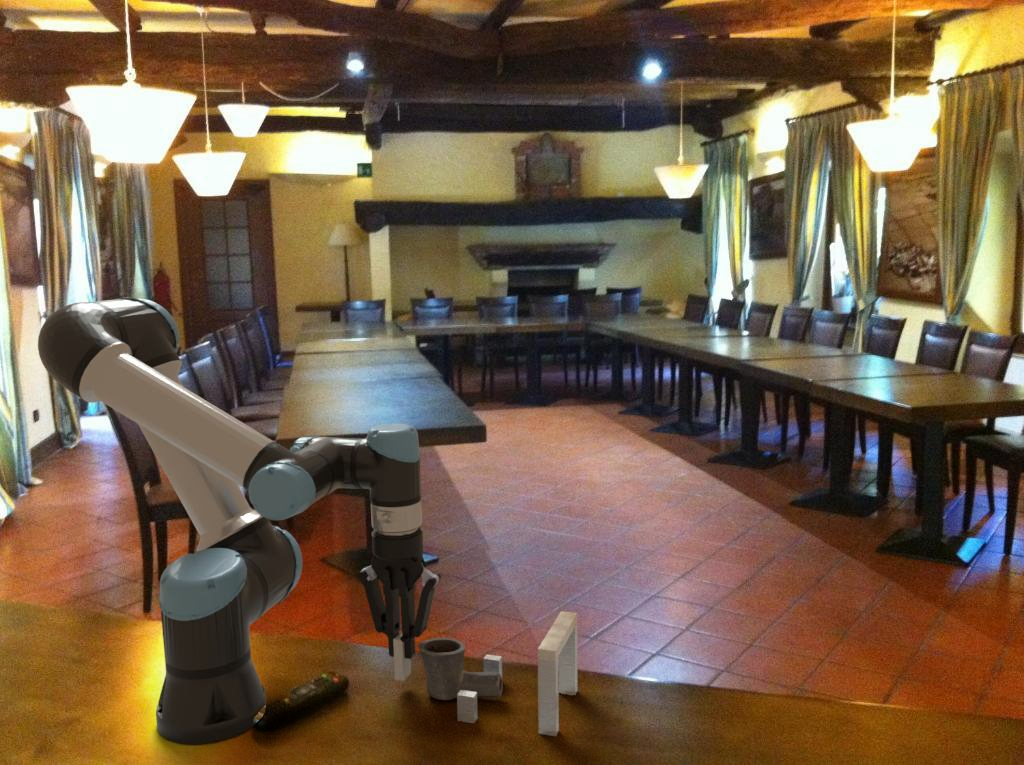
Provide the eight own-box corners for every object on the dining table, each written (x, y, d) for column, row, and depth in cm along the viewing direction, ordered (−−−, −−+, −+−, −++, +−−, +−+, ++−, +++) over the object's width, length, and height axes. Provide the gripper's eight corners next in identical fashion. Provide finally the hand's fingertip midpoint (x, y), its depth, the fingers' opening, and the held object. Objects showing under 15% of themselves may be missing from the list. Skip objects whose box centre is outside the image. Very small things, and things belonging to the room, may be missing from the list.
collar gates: (457, 721, 126) (455, 638, 124) (487, 678, 138) (485, 602, 136) (556, 736, 121) (555, 651, 119) (577, 690, 134) (577, 612, 132)
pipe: (497, 710, 128) (496, 658, 127) (413, 702, 131) (411, 652, 130) (505, 689, 134) (504, 640, 133) (425, 682, 137) (423, 634, 136)
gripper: (345, 532, 130) (353, 682, 133) (427, 539, 126) (433, 693, 129) (368, 517, 137) (375, 660, 140) (446, 523, 133) (451, 670, 136)
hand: (403, 676), depth 135 cm, fingers closed
